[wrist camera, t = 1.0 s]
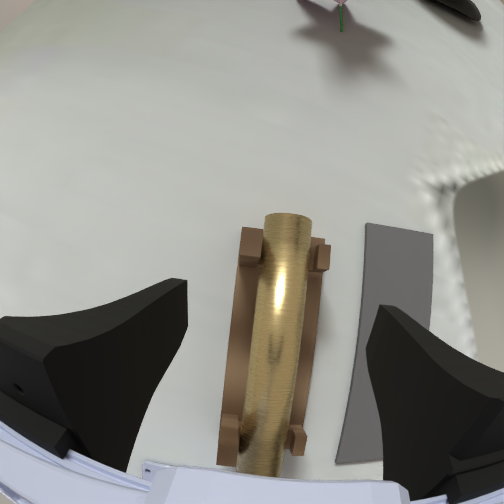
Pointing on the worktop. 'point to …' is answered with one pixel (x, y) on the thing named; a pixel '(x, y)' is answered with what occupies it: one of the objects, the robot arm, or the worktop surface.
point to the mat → (374, 293)
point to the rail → (275, 343)
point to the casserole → (463, 7)
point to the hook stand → (242, 345)
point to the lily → (340, 1)
